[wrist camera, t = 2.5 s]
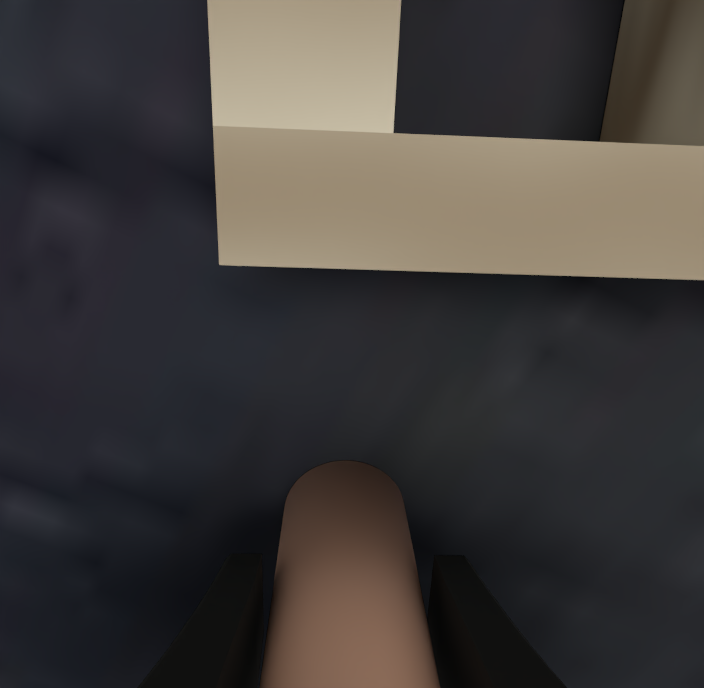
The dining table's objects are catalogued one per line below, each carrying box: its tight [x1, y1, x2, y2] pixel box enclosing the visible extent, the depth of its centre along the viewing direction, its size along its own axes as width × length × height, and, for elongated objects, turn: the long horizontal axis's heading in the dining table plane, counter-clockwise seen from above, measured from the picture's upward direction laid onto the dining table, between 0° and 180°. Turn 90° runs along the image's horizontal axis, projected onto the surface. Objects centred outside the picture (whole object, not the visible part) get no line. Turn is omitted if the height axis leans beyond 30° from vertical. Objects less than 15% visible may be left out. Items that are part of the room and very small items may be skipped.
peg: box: [259, 461, 440, 688], centre depth 9 cm, size 3×3×9 cm
